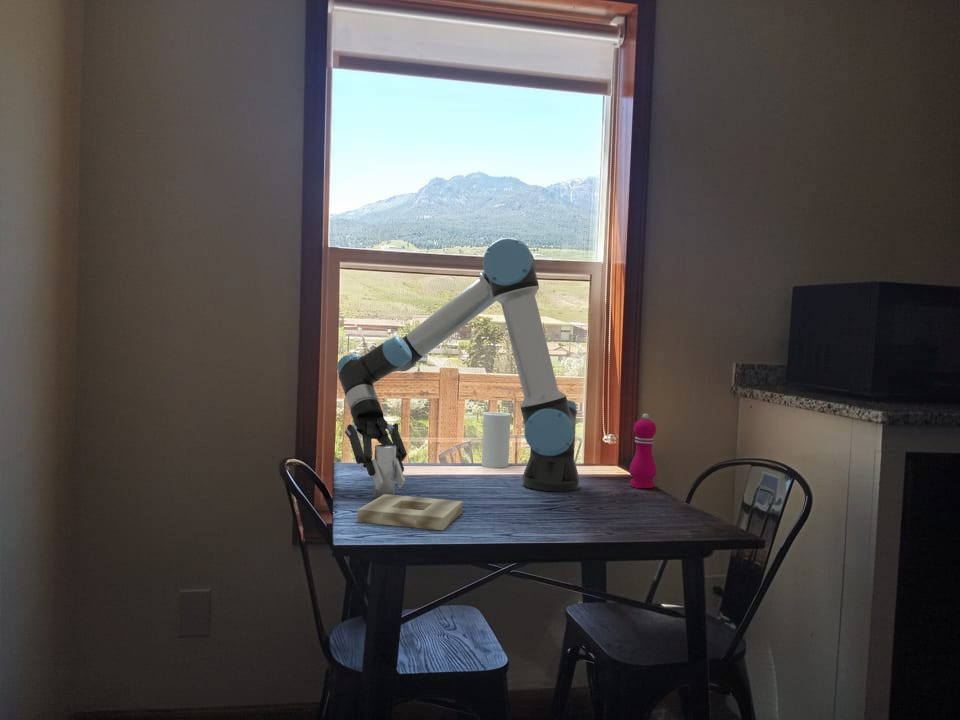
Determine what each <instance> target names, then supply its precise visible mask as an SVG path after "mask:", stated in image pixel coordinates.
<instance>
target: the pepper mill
mask: <svg viewBox="0 0 960 720" xmlns="http://www.w3.org/2000/svg"><path fill="white" fill-rule="evenodd" d="M641 418H642V419H639V420H637V421H636V422H634V425H633V433H634V434H635V437H634V439H635V440H634V442H635V444H636V447H635V448H636V450H635V454H634V455H633V458H632V461H631V462H630V466H629V474H630V476H631V477H632V478H631V479H630V487H631V486H632V487H631V488H633V487H635V488H634V489H637V488H645V489H644V490H647V489H646V488H653V487H654V488H655V481H654V480H653V479H654V478H655V477H656V475H657V473H658V472H657V470H658V469H657V464H656V462H655V460H654V456H653V450H652V449H653V444H654V443H655V441H654V440H655V438H654V436H655V435H656V433H657V425H656V424H655V422H654V421H652V420H651V419H649V418H650V416H649V414H648V413H643V414H642V417H641ZM654 488H653V489H654Z"/></svg>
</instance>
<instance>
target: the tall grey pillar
mask: <svg viewBox="0 0 960 720" xmlns="http://www.w3.org/2000/svg"><path fill="white" fill-rule="evenodd" d="M374 459H376V462H377V465H378V468H379V471H380V474H381V477H382V480H383V484H382V486H381V488H380V489H376V486H375V483H374V482H373V486H372V487H373V488H372V489H373V490H372V498H373V499H377V498H379V497H380V496H382V495H384V494H389V495H395V492H396V491H395V487H396V478H395V468H396V446H395V445H382V444H376V445H374Z"/></svg>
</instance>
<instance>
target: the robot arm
mask: <svg viewBox="0 0 960 720" xmlns="http://www.w3.org/2000/svg"><path fill="white" fill-rule="evenodd" d="M482 261H483V262H482V266H483V270H482V271H481V272H479V276H478V277H479V278H478V279H476V281H474V282H472V283H471V284H470V285H469V286H467V287H466V288H465V289H463V291H461V292H460V293H459V294H457V295H456V296H455V297H453V298H451V300H449V301H448V302H447V303H446V304H444V305H443V306H442V307H440V308H439V309H438V310H436V311H435V312H434V313H433V314H431V315H430V316H429V317H427V318H426V319H425V320H424V321H423V322H421V323H420V324H418V325H417V326H416V327H415V328H413V329H412V330H410V331H409V332H408V333H407V334H406V335H404V336H403V337H401V336H399V335H395V336H393V337H391V338H389V339H386V340H385V341H384V342H383V343H381V344H379V345H378V346H376V347H375V348H373V349H372V350H370V351H369V352H367V353H366V354H363V355H361V354H359V353H354V352H353V353H350V354H346V355H343V356H342V357H341V358H340V359H339V360H338V362H337V365H336V369H337V373H338V380H339V382H340V384H341V387H342V390H343V393H344V396H345V399H346V402H347V405H348V409H349V410H350V415H351V418H352V421H353V424H348V425H347V427H346V429H345V431H344V433H345V435H346V436H347V437H348V439H349V441H350V446H351V448H352V449H351V450H352V452H353V456H354V459H355V463H357V464H358V465H359V464H362V466H363V468H365V469H366V471H367V475H369V476H370V477H372V480H373V483H375V486H376V489H380V488H381V486H382V484H383V480H382V477H381V474H380V471H379V468H378V465H377V462H376V459H375V458H374V459H373V447H372V440H376V441H377V442H378V443H379V444H380V445H395V446H396V468H395V482H396V484H397V487H398V488H402V487H403V486H404V484H405V483H406V477H405V474H404V471H405V467H404V465H403V464H404V463H403V461H405V459H406V457H407V455H408V453H407V450H406V448H405V445H404V443H403V439H402V436H401V434H400V432H399V424H398V423H393V424H389V423H388V421H386V419H385V417H384V412H383V409H382V407H381V403H380V402H379V397H378V395H377V392H376V389H375V385H374V384H375V383H377V382H378V381H380V380H382V379H383V378H385V377H386V376H388V375H390V374H392V373H394V372H395V373H397V372H407V371H409V370H411V369H412V368H414V367H415V366H416V364H417V362H419V361H420V360H421V359H422V358H424V357H425V356H426V355H428V354H429V353H430V352H431V351H433V350H434V349H435V348H437V347H438V346H439V345H440V344H442V343H443V342H444V341H446V340H447V339H448V338H450V337H451V336H452V335H453V334H455V333H456V332H457V331H459V330H460V329H462V328H463V327H464V326H466V325H467V324H468V323H470V321H472V320H473V319H475V318H476V317H477V316H478V315H480V314H481V313H483V312H484V311H485V310H487V309H488V308H489V307H490V306H492V305H493V304H494V303H496V302H497V303H499V304H500V305H501V308H502V313H503V317H504V321H505V324H506V329H507V333H508V336H509V337H508V338H509V341H510V344H511V349H512V354H513V357H514V361H515V365H516V370H517V373H518V377H519V381H520V385H521V389H522V393H523V400H522V402H521V404H520V405H519V406H520V412H521V415H522V421H523V424H524V439H525V441H526V443H527V444H528V445H529V446H528V445H527V446H528V447H530V450H529V451H530V453H529V458H528V461H527V464H526V466H525V469H524V472H523V474H522V480H521V481H522V482H521V483H522V484H523V485H524V487H525V486H526V488H528V489H531V488H532V490H536V489H537V490H538V491H543V490H544V491H545V492H573V491H576V490H579V488H580V481H581V480H580V476H579V472H578V469H577V464H576V460H575V443H576V429H577V428H576V426H577V425H576V422H577V414H578V410H577V403H576V402H575V401H573V400H568V399H567V395H566V394H565V393H563V392H562V391H560V390H559V387H558V384H557V380H556V375H555V372H554V367H553V363H552V359H551V355H550V351H549V347H548V342H547V339H546V335H545V330H544V327H543V322H542V318H541V315H540V310H539V307H538V302H537V299H536V294H537V292H538V291H539V289H540V285H539V281H538V276H537V273H536V261H535V257H534V256H533V254H532V252H531V251H530V248H529V247H528V246H527V245H526V244H525V243H524V242H522V241H521V240H520V239H516V238H512V237H504V238H500V239H497V240H496V241H493V242H492V243H491V244H490V245H489V246H488V247H487V249H486V250H485V253H484V255H483V259H482ZM358 433H359V434H360V435H361V436H362V443H363V444H362V445H363V447H362V445H361V441H360V437H359V434H358ZM389 436H390V437H389ZM522 484H521V485H522ZM523 485H522V486H523ZM537 490H536V491H537Z"/></svg>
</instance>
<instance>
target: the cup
mask: <svg viewBox="0 0 960 720" xmlns="http://www.w3.org/2000/svg"><path fill="white" fill-rule="evenodd" d="M511 415H512V414H511V413H509V412H500V411H484V412H483V418H482V419H483V420H482V440H481V441H482V442H481V443H482V445H481V466H482V467H484V468H491V469H504V468H509V464H510V462H509V457H510V437H511V436H510V435H511V418H512V417H511Z"/></svg>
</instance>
